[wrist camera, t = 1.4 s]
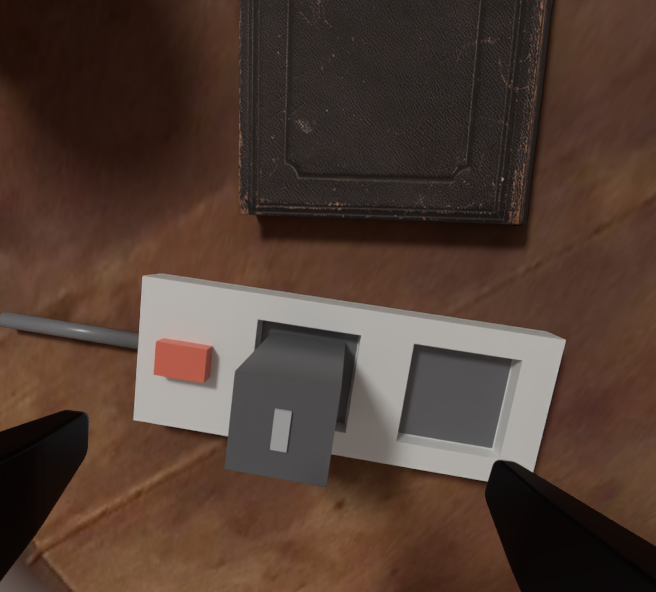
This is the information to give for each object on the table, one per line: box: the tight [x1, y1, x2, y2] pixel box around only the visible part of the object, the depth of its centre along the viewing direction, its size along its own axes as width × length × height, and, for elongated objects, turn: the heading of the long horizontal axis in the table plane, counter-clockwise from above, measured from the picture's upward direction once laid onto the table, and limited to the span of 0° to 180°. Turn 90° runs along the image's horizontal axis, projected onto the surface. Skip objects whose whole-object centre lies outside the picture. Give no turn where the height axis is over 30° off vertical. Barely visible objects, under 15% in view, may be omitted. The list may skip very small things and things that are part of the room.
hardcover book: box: [239, 0, 553, 226], centre depth 19 cm, size 16×23×2 cm
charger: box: [225, 331, 346, 487], centre depth 18 cm, size 4×4×7 cm
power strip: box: [0, 273, 566, 482], centre depth 21 cm, size 9×34×3 cm, turn 82°
